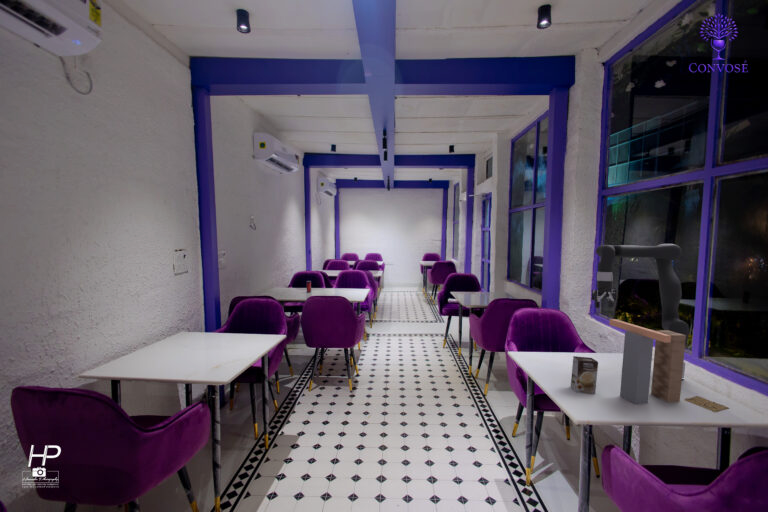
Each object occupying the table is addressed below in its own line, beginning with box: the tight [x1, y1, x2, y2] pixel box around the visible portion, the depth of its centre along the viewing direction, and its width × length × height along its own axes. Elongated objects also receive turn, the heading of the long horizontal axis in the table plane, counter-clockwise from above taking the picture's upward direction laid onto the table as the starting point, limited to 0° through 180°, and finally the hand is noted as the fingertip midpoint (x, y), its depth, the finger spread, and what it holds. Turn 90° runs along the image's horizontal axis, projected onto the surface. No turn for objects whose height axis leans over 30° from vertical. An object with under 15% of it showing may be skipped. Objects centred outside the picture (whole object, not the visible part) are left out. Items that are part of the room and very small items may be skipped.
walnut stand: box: [650, 329, 686, 403], centre depth 158 cm, size 8×7×32 cm
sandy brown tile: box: [684, 395, 730, 413], centre depth 154 cm, size 12×12×1 cm
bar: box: [608, 318, 671, 343], centre depth 155 cm, size 28×3×3 cm, turn 10°
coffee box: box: [570, 355, 599, 394], centre depth 163 cm, size 9×6×16 cm
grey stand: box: [619, 330, 655, 405], centre depth 155 cm, size 8×7×32 cm
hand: (603, 307), depth 188 cm, fingers open, 8 cm apart
